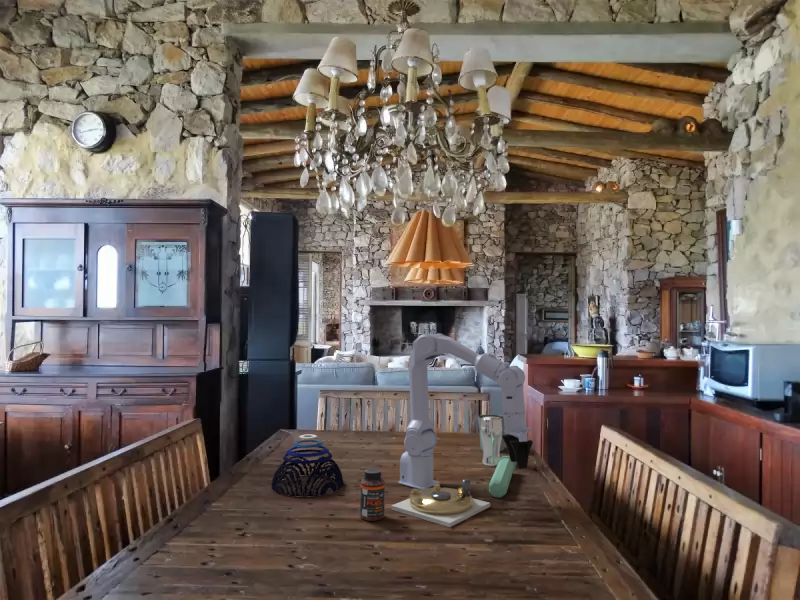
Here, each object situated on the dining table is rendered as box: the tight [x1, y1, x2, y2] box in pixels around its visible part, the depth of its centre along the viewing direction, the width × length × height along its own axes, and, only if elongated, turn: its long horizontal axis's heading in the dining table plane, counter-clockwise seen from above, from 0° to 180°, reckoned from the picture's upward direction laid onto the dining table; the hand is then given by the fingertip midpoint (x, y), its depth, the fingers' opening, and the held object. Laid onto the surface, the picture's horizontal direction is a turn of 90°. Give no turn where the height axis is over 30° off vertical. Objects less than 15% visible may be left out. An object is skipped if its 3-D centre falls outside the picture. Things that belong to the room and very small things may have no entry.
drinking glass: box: [477, 413, 506, 452], centre depth 200 cm, size 10×10×12 cm
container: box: [488, 455, 516, 498], centre depth 158 cm, size 6×6×25 cm
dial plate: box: [391, 497, 491, 528], centre depth 139 cm, size 18×18×1 cm
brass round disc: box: [409, 478, 474, 515], centre depth 139 cm, size 16×16×6 cm
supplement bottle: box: [359, 468, 386, 522], centre depth 132 cm, size 6×6×11 cm
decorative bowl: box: [271, 433, 344, 497], centre depth 157 cm, size 20×20×14 cm
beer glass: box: [481, 416, 502, 467], centre depth 181 cm, size 7×7×15 cm
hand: (518, 464), depth 143 cm, fingers open, 7 cm apart
